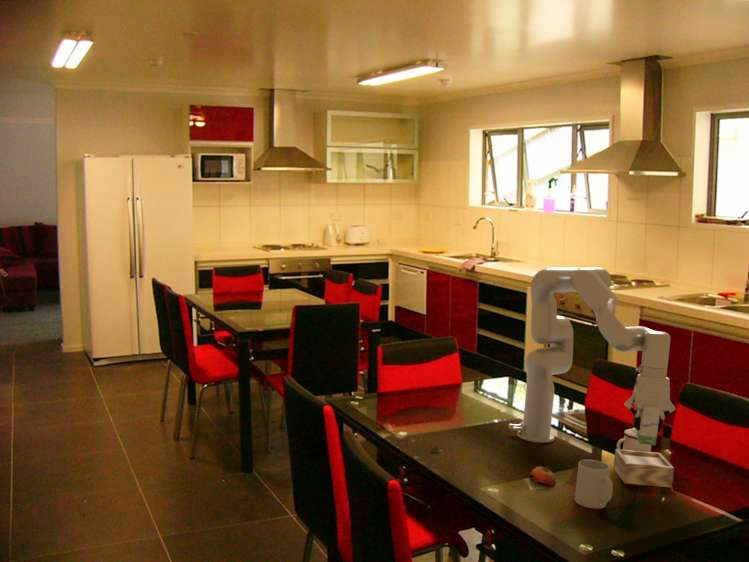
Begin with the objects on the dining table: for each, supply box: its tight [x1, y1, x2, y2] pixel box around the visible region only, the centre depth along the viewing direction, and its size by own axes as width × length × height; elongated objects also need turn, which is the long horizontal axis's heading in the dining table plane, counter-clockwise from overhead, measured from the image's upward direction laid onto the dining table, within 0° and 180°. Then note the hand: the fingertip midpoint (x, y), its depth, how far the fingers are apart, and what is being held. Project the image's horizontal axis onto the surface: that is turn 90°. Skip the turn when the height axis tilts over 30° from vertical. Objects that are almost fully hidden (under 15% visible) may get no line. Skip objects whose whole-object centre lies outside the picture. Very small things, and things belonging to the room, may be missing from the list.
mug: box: [574, 459, 614, 510], centre depth 221 cm, size 12×8×11 cm
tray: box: [613, 448, 675, 488], centre depth 247 cm, size 14×14×6 cm
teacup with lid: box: [616, 427, 652, 452], centre depth 263 cm, size 12×9×12 cm
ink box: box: [636, 405, 660, 446], centre depth 246 cm, size 9×5×12 cm, turn 169°
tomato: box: [528, 466, 557, 487], centre depth 237 cm, size 8×7×7 cm
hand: (647, 429), depth 246 cm, fingers closed on ink box, 5 cm apart
